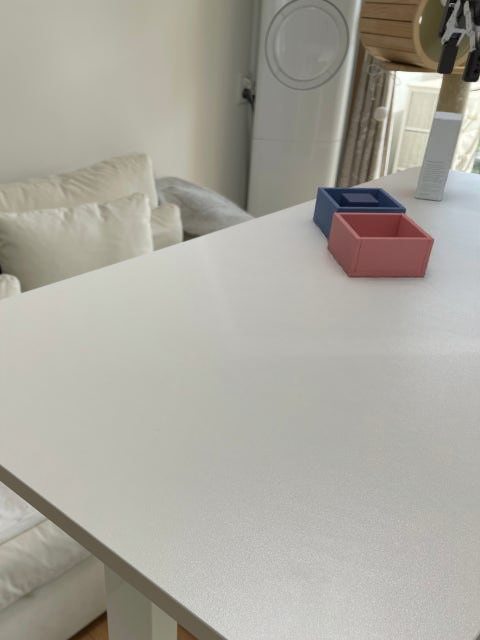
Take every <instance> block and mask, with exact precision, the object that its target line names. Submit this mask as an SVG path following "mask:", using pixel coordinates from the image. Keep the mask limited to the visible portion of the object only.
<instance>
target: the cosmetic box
mask: <svg viewBox="0 0 480 640" xmlns="http://www.w3.org/2000/svg"><path fill="white" fill-rule="evenodd" d="M463 115H464V114H463V113H461V112H460V113H458V112H450V111H437V110H436V111H434V115H433V119H432V122H431V126H430V129H429V134H428V139H427V141H426V146H425V150H424V155H423V158H422V163H421V166H420V171H419V176H418V180H417V186H416V189H415V194H414V198H415V199H419V200H421V199H422V200H429V201H437V202H441V201H442V199H443V196H444V192H445V188H446V184H447V180H448V177H449V173H450V170H451V165H452V161H453V158H454V154H455V150H456V147H457V143H458V139H459V135H460V132H461V127H462V123H463V118H464V116H463Z"/></svg>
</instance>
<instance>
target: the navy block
mask: <svg viewBox="0 0 480 640" xmlns="http://www.w3.org/2000/svg"><path fill="white" fill-rule="evenodd" d="M339 206H340V207H378V206H379V202H378V201H377V200H376V199H375V198H374V197H373V196H372V195H371V194H353V193H342V194H341V199H340V205H339Z"/></svg>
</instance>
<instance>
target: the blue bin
mask: <svg viewBox="0 0 480 640" xmlns="http://www.w3.org/2000/svg"><path fill="white" fill-rule="evenodd" d="M342 193H353V194H371V195H372V196H373V197H374V198H375V199H376V200H377V201H378V202H379V206H378V207H340V206H339V205H340V199H341V194H342ZM406 212H407V208H406V207H405V206H404V205H403V204H402V203H400V202H399V201H398V200H397V199H395V197H393V196H392V195H391V194H390V193H388V192H387V191H386V190H384V188H382V187H335V186H334V187H332V186H331V187H330V186H329V187H327V186H323V187H321V186H319V187H317V192H316V198H315V204H314V210H313V218H312V220H313V222H314V223H315V224H316V226H317V228H319V229H320V231H321V232H322V233H323V235H324V236H325V237H326V239H327V240H328V241H329V236H330V230H331V225H332V219H333V214H334V213H404V214H406Z"/></svg>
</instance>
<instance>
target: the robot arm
mask: <svg viewBox="0 0 480 640" xmlns="http://www.w3.org/2000/svg"><path fill="white" fill-rule="evenodd" d="M465 35H466V36H467V37H468V38H469V50H470V51H468V54H467V58H466V61H465V65H464V68H463V72H462V75H461V80H462V82H465V83H477V82H478V81H479V80H480V0H446V1H445V5H444V9H443V13H442V17H441V20H440V24H439V28H438V32H437V39H441V45H442V47H441V51H440V56H439V60H438V64H437V68H436V73H437V74H440V75H451V74H452V73H453V71H454V67H455V63H456V59H457V56H458V53H459V48H460V46H458V45H460V43H461V41H462V40H463V38H464V36H465Z"/></svg>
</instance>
